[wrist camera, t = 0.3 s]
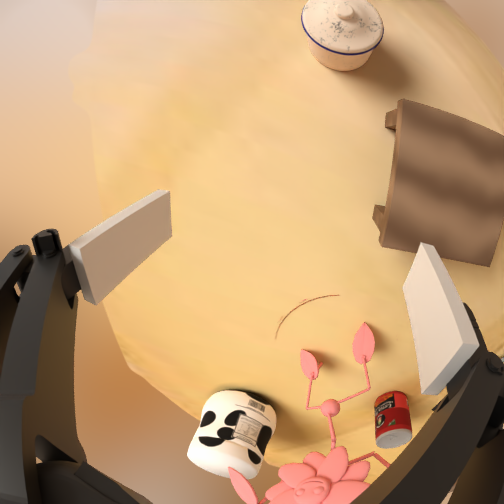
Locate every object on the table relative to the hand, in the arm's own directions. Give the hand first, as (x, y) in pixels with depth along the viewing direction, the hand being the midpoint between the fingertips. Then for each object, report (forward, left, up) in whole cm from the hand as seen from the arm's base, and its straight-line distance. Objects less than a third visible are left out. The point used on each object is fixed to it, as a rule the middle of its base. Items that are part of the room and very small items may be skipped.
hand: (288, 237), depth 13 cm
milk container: (+53, -7, -26) cm, 60 cm away
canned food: (+43, +26, -26) cm, 57 cm away
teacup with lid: (-21, +2, -26) cm, 33 cm away
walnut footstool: (-3, +17, -26) cm, 31 cm away
